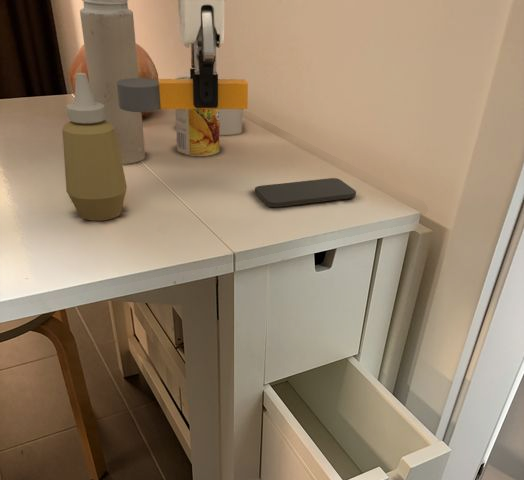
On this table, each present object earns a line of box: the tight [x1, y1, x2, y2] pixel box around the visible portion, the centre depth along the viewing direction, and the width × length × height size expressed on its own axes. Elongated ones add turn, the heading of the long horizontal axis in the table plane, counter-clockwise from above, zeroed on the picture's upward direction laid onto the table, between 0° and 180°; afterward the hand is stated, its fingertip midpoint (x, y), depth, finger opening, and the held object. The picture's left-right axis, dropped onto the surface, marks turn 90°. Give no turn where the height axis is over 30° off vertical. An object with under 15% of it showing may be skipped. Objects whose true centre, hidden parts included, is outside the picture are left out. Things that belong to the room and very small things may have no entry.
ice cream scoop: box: [117, 78, 249, 113], centre depth 73 cm, size 17×6×3 cm, turn 101°
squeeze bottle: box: [61, 73, 128, 221], centre depth 73 cm, size 8×8×18 cm
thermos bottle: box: [79, 0, 146, 165], centre depth 90 cm, size 8×8×28 cm
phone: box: [254, 177, 357, 208], centre depth 87 cm, size 7×1×15 cm
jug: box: [68, 42, 159, 120], centre depth 115 cm, size 18×18×20 cm
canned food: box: [174, 74, 221, 157], centre depth 100 cm, size 8×8×12 cm
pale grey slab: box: [219, 109, 244, 136], centre depth 113 cm, size 10×13×9 cm
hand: (204, 102), depth 74 cm, fingers closed on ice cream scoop, 2 cm apart
